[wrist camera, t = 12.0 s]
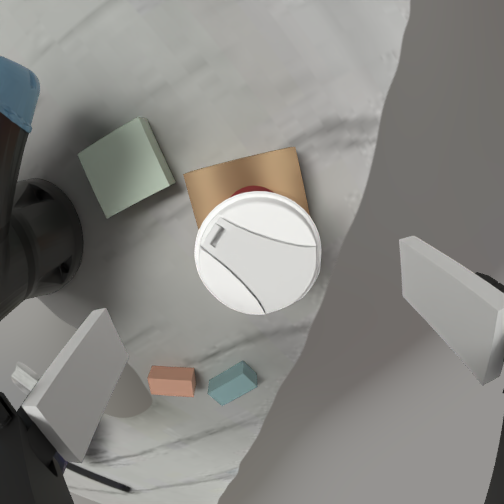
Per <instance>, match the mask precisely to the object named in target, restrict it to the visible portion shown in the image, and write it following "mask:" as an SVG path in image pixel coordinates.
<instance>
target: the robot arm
mask: <svg viewBox="0 0 504 504" xmlns="http://www.w3.org/2000/svg"><path fill="white" fill-rule="evenodd" d="M39 93H40V84H39V80H38V78H37V76H36V75H35V74H34V73H33V72H32V71H31V70H29V69H28V68H26V67H24V66H22V65H20V64H18V63H16V62H14V61H11V60H9V59H7V58H4V57H2V56H0V321H1V320H2V319H3V318H4V317H5V316H7V315H8V314H9V313H10V312H11V311H12V310H13V309H14V308H15V307H17V306H18V305H19V304H20V303H21V302H23V300H25V299H29V298H34V297H38V296H43V295H48V294H51V293H54V292H56V291H57V290H59V289H60V288H62V287H63V286H64V285H65V284H66V283H67V282H69V281H70V280H71V279H72V278H73V276H74V275H75V273H76V272H77V270H78V268H79V265H80V262H81V258H82V252H83V236H82V229H81V225H80V221H79V218H78V215H77V213H76V211H75V209H74V207H73V205H72V203H71V202H70V200H69V199H68V198H67V196H66V195H65V194H64V193H63V192H62V191H61V190H60V189H59V188H58V187H56V186H55V185H54V184H52V183H50V182H48V181H45V180H42V179H28V180H23V181H19V182H17V179H18V174H19V169H20V165H21V161H22V156H23V152H24V148H25V144H26V141H27V137H28V134H29V133H30V132H31V130H32V127H31V123H32V119H33V115H34V111H35V107H36V104H37V100H38V97H39ZM399 246H400V259H401V275H402V296H403V297H404V298H405V299H406V300H407V301H408V302H409V304H410V305H411V306H412V307H413V308H414V309H415V310H416V311H417V312H418V313H419V314H420V315H421V316H422V317H423V318H424V319H425V320H426V322H427V323H428V324H429V325H430V326H431V327H432V328H433V329H434V330H435V331H436V333H437V334H439V336H440V337H441V338H442V339H443V340H444V341H445V343H446V344H447V345H448V346H449V347H450V348H451V349H452V350H453V351H454V353H455V354H456V355H457V356H458V357H459V358H460V359H461V361H462V362H463V363H464V364H465V365H466V366H467V368H468V369H469V370H470V371H471V372H472V374H473V375H474V376H475V377H476V378H477V379H478V380H479V382H480V383H481V384H482V385H484V384H486V383H488V382H490V381H492V380H494V379H496V378H497V377H499V376H500V374H501V370H502V366H503V362H504V285H502V284H501V283H498V282H497V281H496V280H495V279H493V278H491V277H490V276H488V275H484V274H481V273H478V272H477V273H473V272H472V271H470V270H468V269H467V268H466V267H464V266H462V265H461V264H459V263H458V262H456V261H455V260H453V259H451V258H450V257H448V256H447V255H445V254H443V253H442V252H440V251H438V250H437V249H435V248H434V247H432V246H430V245H429V244H427V243H425V242H424V241H422V240H420V239H419V238H417V237H415V236H411V237H407V238H403V239H399ZM128 359H129V355H128V353H127V351H126V349H125V347H124V345H123V343H122V341H121V339H120V337H119V335H118V333H117V331H116V328H115V326H114V324H113V322H112V320H111V317H110V315H109V313H108V311H107V308H102V309H97V310H93V311H92V312H91V313H90V315H89V316H88V317H87V318H86V320H85V321H84V322H83V323H82V324H81V326H80V327H79V328H78V330H77V331H76V332H75V333H74V335H73V336H72V337H71V338H70V340H69V341H68V342H67V344H66V345H65V346H64V347H63V349H62V350H61V352H60V353H59V354H58V355H57V357H56V358H55V359H54V361H53V362H52V363H51V365H50V366H49V367H48V369H47V370H46V371H45V373H44V374H43V375H42V377H41V378H40V379H39V381H38V382H37V383H36V385H35V386H34V388H33V389H32V391H31V392H30V393H29V395H28V396H27V397H26V399H25V400H24V402H23V403H22V405H21V406H20V408H19V409H18V411H17V412H16V410H15V409H14V408H13V406H12V405H11V403H10V402H9V401H8V399H7V398H6V396H5V395H4V393H2V392H0V504H74V502H73V500H72V497H71V495H70V492H69V490H68V487H67V485H66V482H65V480H64V477H63V474H62V471H61V469H60V466H59V464H58V462H57V461H56V460H55V458H54V455H55V453H56V451H57V452H58V453H59V454H60V455H61V456H62V458H63V459H64V460H65V461H67V462H76V463H82V462H83V459H84V457H85V454H86V452H87V449H88V447H89V445H90V442H91V440H92V438H93V435H94V433H95V431H96V428H97V426H98V424H99V421H100V419H101V417H102V415H103V412H104V410H105V408H106V406H107V403H108V401H109V399H110V397H111V395H112V392H113V390H114V388H115V386H116V384H117V382H118V380H119V377H120V375H121V373H122V371H123V369H124V367H125V365H126V363H127V361H128ZM503 393H504V390H503ZM484 504H504V418H503V425H502V431H501V437H500V443H499V448H498V452H497V457H496V462H495V466H494V471H493V474H492V479H491V482H490V486H489V489H488V493H487V496H486V500H485V503H484Z"/></svg>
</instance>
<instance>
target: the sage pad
mask: <svg viewBox="0 0 504 504" xmlns="http://www.w3.org/2000/svg"><path fill="white" fill-rule="evenodd" d="M77 155H78V157H79V159H80V162H81V164H82V166H83V169H84V171H85V173H86V175H87V178H88V180H89V182H90V184H91V187H92V189H93V191H94V193H95V195H96V197H97V199H98V202H99V204H100V206H101V208H102V210H103V212H104V214H105V216H106V218H109V217H111V216H113V215H115V214H116V213H118V212H120V211H122V210H124V209H126V208H127V207H129V206H131V205H133V204H135V203H137V202H139V201H141V200H143V199H145V198H146V197H148V196H150V195H152V194H154V193H156V192H158V191H160V190H162V189H164V188H166V187H168V186H170V185H172V184H174V183H176V182H175V180H174V178H173V176H172V173H171V171H170V169H169V167H168V165H167V163H166V161H165V158H164V156H163V154H162V152H161V150H160V148H159V145H158V143H157V141H156V139H155V137H154V134H153V132H152V130H151V128H150V125H149V123H148V121H147V119H145V118H141V117H137V118H135V119H133V120H131V121H130V122H128V123H126V124H125V125H123V126H121V127H119V128H118V129H116V130H114V131H113V132H111V133H109V134H108V135H106V136H105V137H103V138H101V139H100V140H98V141H97V142H95V143H93V144H92V145H90V146H89V147H87V148H86V149H84V150H83V151H81V152H80V153H78V154H77Z"/></svg>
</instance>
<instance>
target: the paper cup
mask: <svg viewBox="0 0 504 504" xmlns="http://www.w3.org/2000/svg"><path fill="white" fill-rule="evenodd" d="M194 252H195V263H196V268H197V271H198V273H199V276H200V278H201V280H202V282H203V283H204V285H205V286H206V288H207V289H208V290H209V291H210V293H212V294H213V296H214V297H215V298H217V299H218V300H219V301H220V302H221V303H223V304H224V305H226V306H227V307H229V308H231V309H233V310H235V311H239V312H242V313H246V314H253V315H263V314H268V313H271V312H274V311H277V310H280V309H283V308H285V307H287V306H289V305H291V304H293V303H295V302H297V301H298V300H300V299H301V298H302V297H304V296H305V294H306V293H307V292H308V291H309V290H310V289H311V287H312V286H313V284H314V283H315V281H316V280H317V277H318V275H319V273H320V265H321V254H322V250H321V240H320V236H319V233H318V230H317V228H316V225H315V223H314V222H313V220H312V219H311V217H310V216H309V215H308V213H307V212H306V211H305V210H304V209H303V208H302V207H301V206H299V205H298V204H297V203H296V202H294V201H292V200H290V199H289V198H287V197H285V196H282V195H279V194H276V193H274V192H273V191H271V190H269V189H267V188H265V187H262V186H247V187H244V188H241V189H239V190H238V191H236V192H235V193H234V194H233V195H231V197H230V198H228V199H226V200H225V201H223V202H222V203H220V204H219V205H217V206H216V207H215V208H214V209H213V210H212V211H211V212H210V213H209V214H208V216H207V217H206V218H205V220H204V221H203V223H202V225H201V227H200V229H199V231H198V234H197V237H196V242H195V249H194Z"/></svg>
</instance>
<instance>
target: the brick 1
mask: <svg viewBox="0 0 504 504" xmlns="http://www.w3.org/2000/svg"><path fill="white" fill-rule="evenodd" d="M148 383H149V387H150V391H151V394H155V395H167V396H183V397H194V393H195V387H196V379H195V372H194V368H183V367H163V366H152V368H151V370H150V373H149V375H148Z"/></svg>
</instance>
